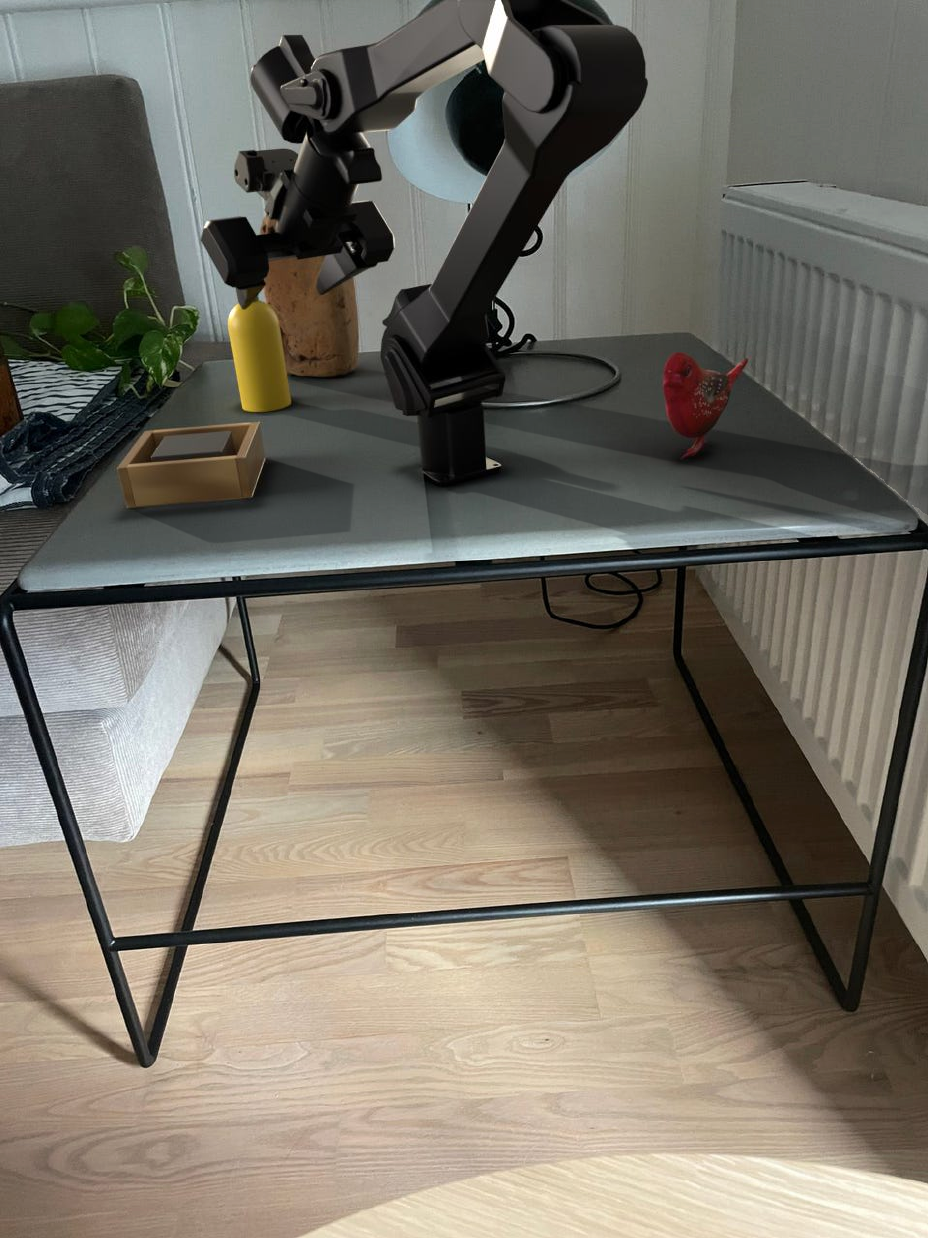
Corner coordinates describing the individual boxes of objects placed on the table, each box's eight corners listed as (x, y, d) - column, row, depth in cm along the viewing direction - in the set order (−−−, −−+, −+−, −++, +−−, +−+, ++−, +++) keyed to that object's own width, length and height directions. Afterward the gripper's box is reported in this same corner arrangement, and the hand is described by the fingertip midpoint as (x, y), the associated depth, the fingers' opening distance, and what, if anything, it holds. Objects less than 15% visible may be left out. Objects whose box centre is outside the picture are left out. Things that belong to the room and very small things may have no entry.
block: (368, 365, 124) (350, 199, 114) (349, 380, 117) (328, 205, 108) (291, 365, 126) (267, 203, 117) (268, 380, 120) (241, 209, 110)
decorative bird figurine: (644, 474, 81) (648, 357, 77) (728, 419, 93) (736, 315, 89) (675, 479, 80) (680, 360, 75) (757, 423, 92) (766, 317, 87)
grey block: (238, 467, 87) (231, 430, 86) (228, 489, 82) (221, 451, 80) (172, 472, 87) (164, 435, 86) (159, 495, 82) (150, 456, 80)
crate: (266, 465, 90) (259, 421, 88) (253, 505, 81) (244, 457, 79) (155, 474, 90) (144, 430, 87) (128, 516, 80) (116, 467, 78)
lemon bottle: (298, 405, 108) (281, 286, 102) (252, 415, 106) (231, 293, 100) (280, 395, 113) (262, 280, 106) (235, 405, 110) (214, 287, 104)
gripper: (366, 109, 92) (321, 226, 105) (188, 120, 82) (163, 248, 95) (422, 199, 90) (369, 307, 103) (247, 222, 80) (212, 338, 93)
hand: (281, 298), depth 98 cm, fingers open, 9 cm apart
